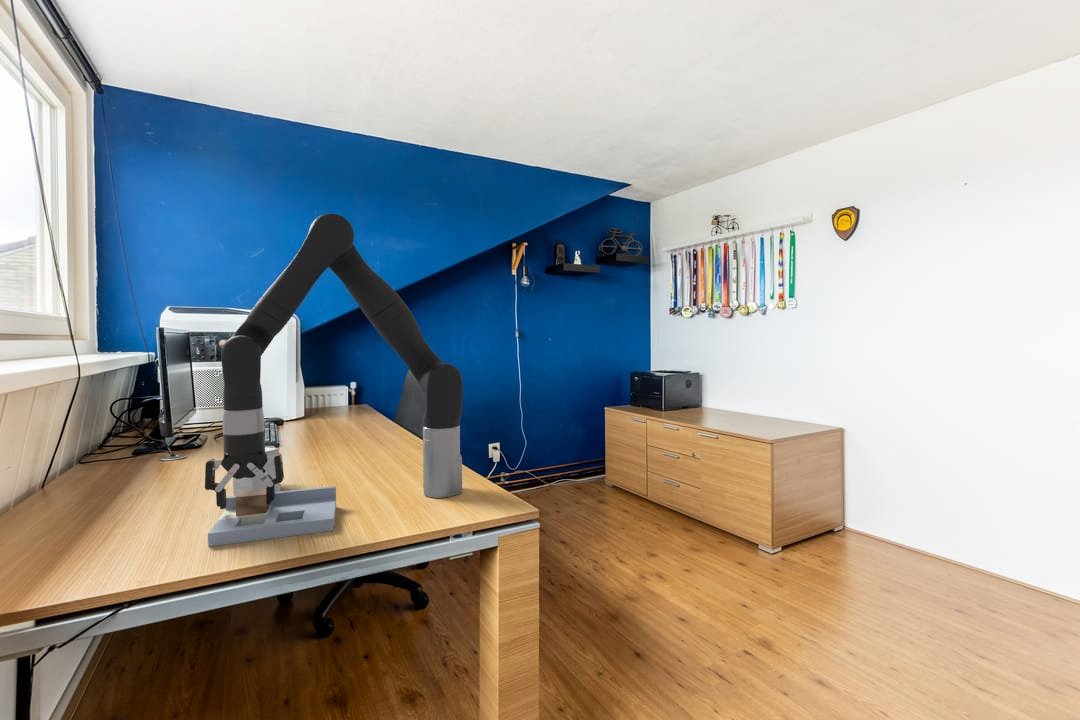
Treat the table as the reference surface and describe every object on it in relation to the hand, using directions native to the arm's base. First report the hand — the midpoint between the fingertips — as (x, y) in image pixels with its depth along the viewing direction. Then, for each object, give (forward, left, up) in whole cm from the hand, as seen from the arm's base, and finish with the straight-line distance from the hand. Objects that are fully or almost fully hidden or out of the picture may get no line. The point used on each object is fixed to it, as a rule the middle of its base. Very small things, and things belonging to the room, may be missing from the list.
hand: (246, 505), depth 105 cm
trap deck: (-6, +3, -4) cm, 8 cm away
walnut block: (-1, 0, -1) cm, 2 cm away
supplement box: (+1, -15, -4) cm, 16 cm away
